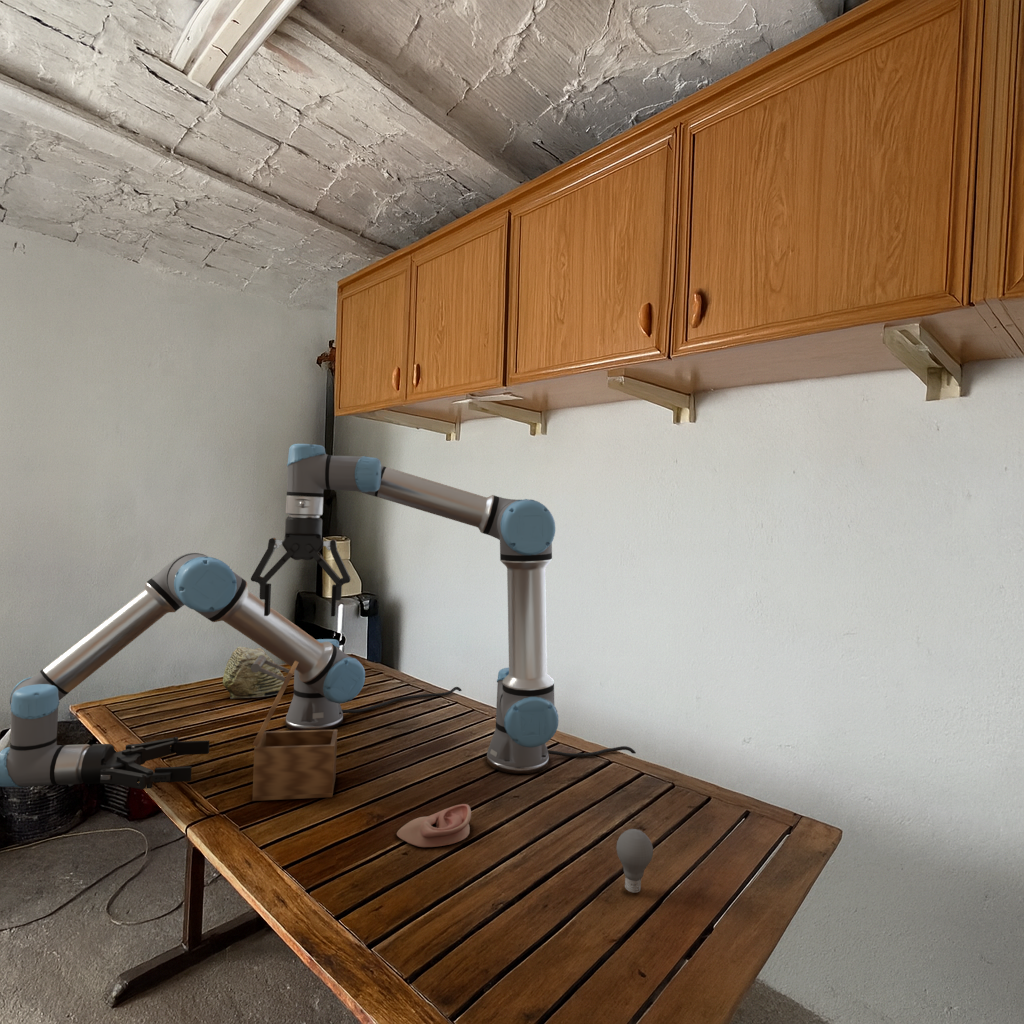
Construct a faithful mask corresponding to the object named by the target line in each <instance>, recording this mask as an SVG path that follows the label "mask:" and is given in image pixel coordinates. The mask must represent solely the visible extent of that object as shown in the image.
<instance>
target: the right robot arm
mask: <svg viewBox="0 0 1024 1024" xmlns="http://www.w3.org/2000/svg"><path fill="white" fill-rule="evenodd" d="M325 490H327V491H333V490H334V491H346V492H358V493H362V494H365V495H368V496H371V497H376V498H379V499H383V500H386V501H389V502H393V503H396V504H398V505H402V506H405V507H409V508H413V509H416V510H420V511H423V512H425V513H429V514H431V515H435V516H439V517H442V518H444V519H445V518H446V519H449V520H452V521H455V522H458V523H461V524H464V525H467V526H468V525H469V526H472V527H475V528H477V529H478V530H479V532H480V533H481V534H484V535H487V536H490V537H493V538H495V539H497V540H498V541H499V561H500V562H501V564H503V565H504V566H505V567H506V577H507V580H506V582H507V584H506V585H507V586H506V587H507V629H508V631H507V635H508V636H507V637H508V638H507V639H508V643H507V644H508V667H503V668H501V669H499V670H498V673H497V679H496V685H497V687H496V707H495V708H496V709H495V728H494V729H495V730H494V732H493V735H492V738H491V740H490V743H489V746H488V748H487V752H486V762H487V765H489V766H490V767H491V768H493V769H494V770H496V771H499V772H502V773H507V774H513V775H529V774H535V773H538V772H541V771H543V770H545V769H546V768H547V767H548V766H549V759H550V755H552V756H553V755H554V756H561V757H566V758H586V757H595V756H599V755H603V754H607V753H613V752H619V751H628V752H630V753H631V754H633V755H634V754H637V752H636V751H635V749H633V748H631V747H630V746H626V745H622V746H616V747H610V748H603V749H601V750H600V749H599V750H597V751H590V752H579V753H578V752H576V753H575V752H574V753H573V752H562V751H559V750H550V749H548V746H547V743H548V742H549V741H551V740H552V738H553V737H554V736H555V734H556V733H557V730H558V727H559V714H558V709H557V707H556V706H555V680H554V678H552V677H551V675H549V674H548V646H547V645H548V644H547V643H548V642H547V640H548V639H547V635H548V634H547V585H546V584H547V583H546V582H547V580H546V579H547V578H546V574H547V573H546V568H547V566H548V565H549V564H550V563H551V562H552V561H553V541H554V538H555V536H556V521H555V518H554V516H553V514H552V512H551V511H550V510H549V509H548V507H547V506H546V505H544V504H543V503H542V502H540V501H538V500H535V499H528V498H524V499H516V498H515V499H513V498H512V499H511V498H506V497H502V496H497V495H494V494H491V495H490V496H488V497H486V496H483V495H480V494H476V493H473V492H469V491H466V490H465V489H464V490H463V489H461V488H457V487H453V486H450V485H447V484H443V483H441V482H437V481H433V480H430V479H427V478H424V477H421V476H418V475H414V474H411V473H407V472H404V471H401V470H398V469H395V468H391V467H388V466H384V465H382V462H381V459H379V458H378V457H372V456H367V455H362V456H357V455H356V456H355V455H333V454H327V453H326V448H325V446H323V445H320V444H313V443H312V444H311V443H293V444H292V445H290V446H289V448H288V457H287V463H286V499H285V500H286V501H285V514H286V515H288V516H286V518H285V525H284V526H285V528H284V538H283V539H281V538H276V537H271V538H269V539H268V542H267V543H268V544H267V549H266V550H265V552H264V554H263V556H262V557H261V559H260V561H259V563H258V564H257V566H256V567H255V570H254V571H253V573H252V575H251V576H250V581H251V582H253V583H256V584H259V599H260V600H261V601H264V603H265V605H264V616H268V615H269V614H270V607H271V600H272V599H271V598H272V583H268V582H269V581H270V580H271V579H272V578H273V577H274V576H275V574H277V572H278V571H279V570H280V569H281V568H282V567H283V566H284V565H285V564H286V563H287V562H288V561H289V560H290V559H293V560H294V561H300V560H304V561H312V560H313V559H314V561H315V562H317V563H318V565H319V566H320V568H321V569H323V571H324V572H325V573H326V574H327V576H328V577H329V578H330V579H331V580H332V582H333V584H332V586H331V602H330V603H331V606H330V609H331V610H330V617H335V616H336V613H337V601H341V599H342V591H343V585H346V584H348V583H350V582H351V576H350V574H349V571H348V570H347V567H346V565H345V563H344V561H343V558H342V556H341V554H340V552H339V550H338V544H337V542H338V541H337V540H336V539H330V540H324V539H323V519H322V518H321V516H323V513H324V491H325ZM280 546H282V547H283V549H284V550H285V551H286V552H285V554H284V555H283V556H282V557H281V558H280V559H279V560H277V562H276V563H275V564H274V565H273V566H272V567H271V568H270V569H269V570H268V571H267V572H266V574H265V575H264V576H261V575H262V573H263V571H264V570H265V568H266V566H267V565H268V563H269V561H270V559H271V557H272V556H273V554H274V552H275V550H277V549H279V547H280ZM323 547H325V548H326V550H327V551H330V553H331V556H332V558H333V560H334V562H335V564H336V567H337V569H338V570H339V572H340V574H341V578H340V576H339V575H338V574H337V572H336V571H335V569H333V567H332V566H331V565H330V564H329V563H328V561H327V560H326V559H325V557H324V556H323V555H322V554H321V552H320V551H322V550H323Z"/></svg>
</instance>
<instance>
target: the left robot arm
mask: <svg viewBox="0 0 1024 1024" xmlns="http://www.w3.org/2000/svg"><path fill="white" fill-rule="evenodd" d="M248 586H249V585H248V581H247V580H246V579H244V578H243V577H241V576H240V575H238V574H237V572H235V571H233V569H232V568H231V567H230V566H229V565H228V564H227V563H225V562H224V561H223V560H221V559H219V558H216V557H212V556H209V555H207V554H203V553H199V552H189V553H185V554H182V555H180V556H177V557H176V558H174V559H173V560H172V561H170V562H169V563H168V564H167V565H165V566H164V567H163V568H162V569H160V570H159V571H158V572H156V574H154V575H153V576H152V577H150V578H149V579H148V580H147V581H146V582H145V583H144V588H143V589H142V590H141V591H140V592H139V593H138V594H137V595H135V596H134V597H133V598H131V599H130V600H129V601H128V602H126V603H125V604H123V605H122V606H121V607H120V608H118V609H117V610H116V611H115V612H113V613H112V614H111V615H109V616H108V617H107V618H106V619H104V620H103V621H102V622H101V623H99V624H98V625H97V626H95V627H94V628H93V629H92V630H91V631H89V632H88V633H86V634H85V635H84V636H83V637H81V638H80V639H78V640H77V641H76V642H75V643H74V644H72V645H71V646H70V647H69V648H67V649H66V650H65V651H64V652H62V653H61V654H60V655H58V656H57V657H55V658H54V659H53V660H52V661H51V662H50V663H48V664H47V665H46V666H44V667H43V668H41V669H40V670H39V671H38V672H36V673H35V674H34V675H32V676H29V677H26V678H24V679H21V680H20V681H19V682H18V683H17V684H16V685H14V687H13V689H12V691H11V693H10V695H9V705H10V742H9V745H10V746H8V747H4V748H3V749H2V750H0V787H1V788H21V789H22V788H28V787H44V786H46V787H48V786H65V785H66V786H68V787H73V786H74V785H82V784H83V783H84V784H85V785H95V784H97V785H99V784H104V785H105V784H110V785H111V784H112V785H116V786H122V787H127V788H132V789H138V790H145V789H146V790H150V789H152V788H154V784H160V783H163V784H164V783H185V782H191V781H192V769H193V767H192V765H191V766H189V765H188V766H166V767H164V766H163V767H155V768H154V770H153V769H151V768H148V767H146V766H143V765H145V763H146V762H148V761H152V760H155V759H158V758H163V757H166V756H167V757H168V756H169V755H173V754H175V755H176V756H187V755H189V756H190V755H209V754H210V740H183V741H182V740H181V741H180V740H179V736H174V737H169V738H163V739H157V740H152V741H146V742H141V743H130V744H125V749H123V750H121V751H117V750H115V746H114V745H113V744H111V743H93V744H88V743H87V744H86V743H85V744H84V743H82V744H64V745H63V744H62V745H61V744H58V725H59V724H58V722H59V706H60V701H61V700H62V699H64V698H65V697H66V696H67V695H68V694H69V693H70V692H71V691H73V690H74V689H75V688H77V686H79V685H80V684H81V683H83V682H84V681H85V680H86V679H88V677H90V676H91V675H92V674H94V673H95V672H97V670H99V669H100V668H101V667H102V666H103V665H105V664H106V663H107V662H108V661H110V660H111V659H113V658H114V657H115V656H116V655H118V654H119V652H121V651H122V650H123V649H125V648H126V647H127V646H128V645H129V644H131V643H132V642H133V641H134V640H136V639H137V638H138V637H139V636H141V635H143V633H144V632H146V631H148V629H150V628H151V627H152V626H153V625H154V624H156V623H157V622H158V621H159V620H160V619H162V618H163V617H164V616H165V615H167V614H169V613H176V612H177V611H178V610H179V609H181V608H183V606H186V607H187V608H188V609H191V610H193V611H195V612H196V613H198V614H200V615H201V616H203V617H204V618H206V619H207V620H208V621H210V622H211V623H217V622H224V623H226V624H227V625H228V626H230V627H231V628H233V629H234V630H236V631H237V632H239V633H241V634H242V635H243V636H245V637H247V638H248V639H249V640H251V641H252V642H254V643H255V644H256V645H258V646H260V647H261V648H262V649H263V650H266V651H267V652H269V653H270V654H272V655H273V656H275V657H276V658H277V659H279V660H281V661H282V662H283V663H285V664H287V665H288V666H290V668H291V667H292V665H293V663H294V661H297V662H299V663H298V665H297V667H296V669H295V671H294V673H293V695H292V696H293V697H292V699H291V702H290V704H289V708H288V711H287V713H286V715H285V726H286V728H287V729H289V730H291V731H298V730H334V729H335V728H337V727H339V726H340V725H342V723H343V722H344V714H359V713H365V712H368V711H371V710H372V711H373V710H374V709H379V708H382V707H385V706H387V705H390V704H393V703H396V702H400V701H405V700H411V699H412V700H413V699H420V698H431V697H433V698H434V697H442V696H444V697H445V696H449V695H451V694H453V692H455V691H457V692H462V691H463V690H462V689H461V688H460V687H459V686H454V687H453V688H452V689H450V690H449V691H443V692H438V693H437V692H436V693H423V694H413V695H405V696H401V697H396V698H392V699H389V700H387V701H384V702H381V703H378V704H377V703H376V704H374V705H371V706H367V707H364V708H358V709H357V708H356V709H342V706H341V704H344V703H345V704H346V703H347V702H351V701H352V700H354V699H355V698H356V697H357V696H358V695H359V694H360V693H361V692H362V690H363V687H364V685H365V682H366V671H365V668H364V667H365V666H363V663H361V661H359V660H358V659H357V658H356V657H352V656H350V655H349V654H347V653H346V652H344V651H343V650H341V649H340V647H341V646H340V642H339V640H338V639H334V638H323V639H322V638H319V639H315V638H314V637H313V636H312V635H310V634H308V633H307V632H306V631H305V630H303V629H302V628H301V627H299V626H298V625H296V624H295V623H293V622H292V621H291V620H289V619H288V618H287V617H285V616H284V615H283V614H282V613H280V612H278V611H277V610H276V609H274V608H272V607H271V606H270V614H269V615H268V616H264V605H265V601H264V600H260V597H257V596H256V595H255V594H253V593H252V592H250V591H249V588H248Z"/></svg>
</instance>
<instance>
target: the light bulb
mask: <svg viewBox="0 0 1024 1024" xmlns="http://www.w3.org/2000/svg"><path fill="white" fill-rule="evenodd" d="M615 849H616V854H617V857H618V859H619V861H620V863H621V865H622V867H623V873H624V874H623V875H624V876H625V878H624V888H625V890H627V891H628V892H630V893H634V894H635V893H639V892H640V891H641V889H642V887H641V886H642V879H643V877H644V875H645V871H646V868H647V867H648V866H649V864H650V863H651V861H652V859H653V855H654V847H653V843H652V841H651V838H649V836H648V835H647V834H646V833H645V832H643V831H642V830H641V829H636V828H629V829H627V830H625V831H623V832H622V833H621V834H620V835H619V837H618V839H617V841H616V847H615Z"/></svg>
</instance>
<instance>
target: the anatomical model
mask: <svg viewBox="0 0 1024 1024" xmlns="http://www.w3.org/2000/svg"><path fill="white" fill-rule="evenodd" d="M471 819H472V809H471V806H470V805H469V804H468V803H462V804H461V803H460V804H456V805H452V806H450V807H447V808H445V809H442V810H439V811H437V812H436V813H433V814H431V815H428V816H426V815H425V816H420V817H417V818H414V819H412V820H410V821H408V822H407V823H405V824H404V825H402V826H401V827H400V828H399V829H398V830H397V832H396V836H397V837H398V838H399V839H401V840H402V841H403V842H406V843H408V844H409V845H413V846H415V847H419V848H435V847H442V846H443V847H444V846H448V845H449V846H450V845H453V844H456V843H458V842H461V841H463V840H465V839H466V838H468V836H469V835H470V832H471V831H470V830H471V829H470V828H471V827H470V824H469V823H470V821H471Z"/></svg>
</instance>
